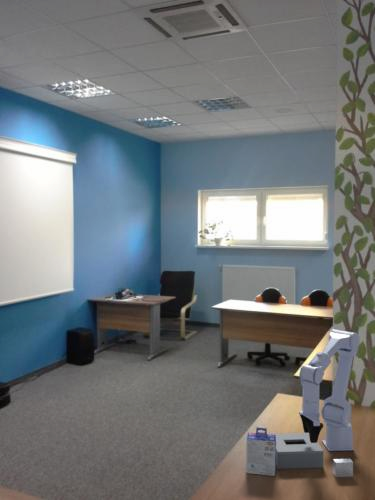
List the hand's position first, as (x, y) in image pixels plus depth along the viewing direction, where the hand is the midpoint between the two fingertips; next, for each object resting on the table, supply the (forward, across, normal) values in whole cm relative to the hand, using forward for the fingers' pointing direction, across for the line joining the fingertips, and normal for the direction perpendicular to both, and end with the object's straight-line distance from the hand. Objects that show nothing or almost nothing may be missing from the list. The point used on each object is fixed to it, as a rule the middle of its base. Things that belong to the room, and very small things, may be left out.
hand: (310, 437), depth 165 cm
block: (+10, +8, +9) cm, 15 cm away
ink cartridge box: (+10, +4, -18) cm, 21 cm away
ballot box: (+10, -4, -4) cm, 11 cm away
